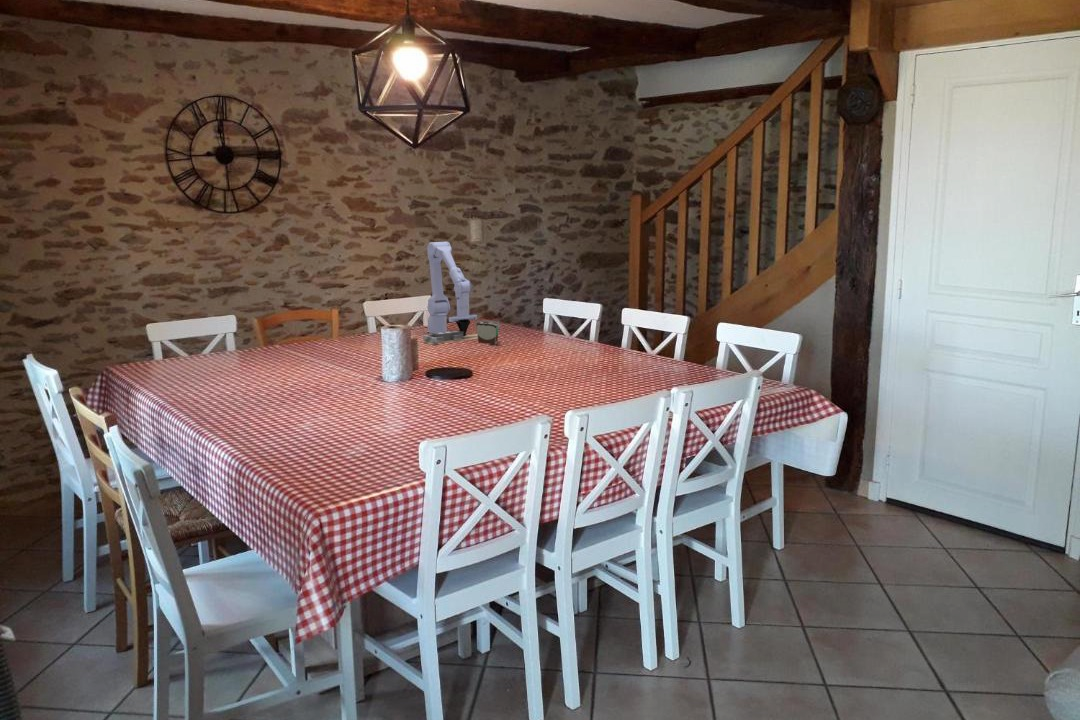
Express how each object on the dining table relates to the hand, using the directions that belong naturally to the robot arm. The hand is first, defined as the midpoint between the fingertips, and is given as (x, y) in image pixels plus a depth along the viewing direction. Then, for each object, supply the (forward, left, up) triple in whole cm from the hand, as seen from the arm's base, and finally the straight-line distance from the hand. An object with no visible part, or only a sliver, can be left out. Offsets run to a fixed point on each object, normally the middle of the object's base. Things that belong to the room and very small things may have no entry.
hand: (463, 335), depth 390 cm
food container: (+16, +4, -2) cm, 17 cm away
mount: (0, -3, -2) cm, 4 cm away
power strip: (0, -8, -1) cm, 8 cm away
